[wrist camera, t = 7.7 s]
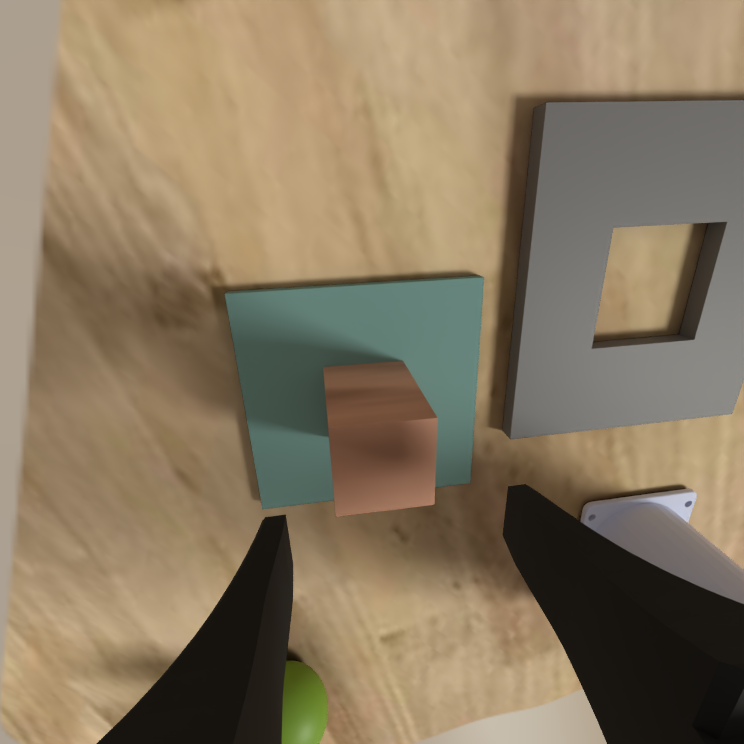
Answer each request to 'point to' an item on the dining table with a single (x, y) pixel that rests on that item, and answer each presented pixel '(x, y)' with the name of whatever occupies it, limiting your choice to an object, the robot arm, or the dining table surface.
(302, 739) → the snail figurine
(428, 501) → the terracotta block
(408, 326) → the teal mat
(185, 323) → the dining table surface
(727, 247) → the charcoal pocket board
